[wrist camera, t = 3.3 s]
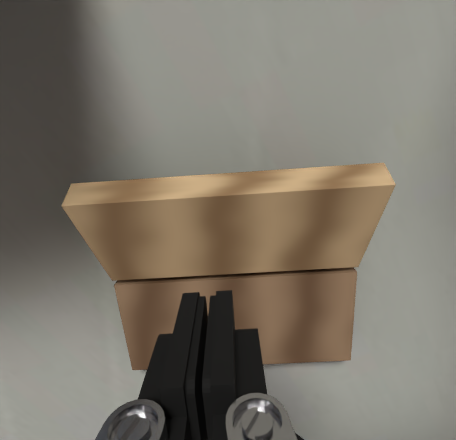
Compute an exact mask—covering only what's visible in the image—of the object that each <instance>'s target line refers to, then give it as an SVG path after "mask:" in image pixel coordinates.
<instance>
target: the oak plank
mask: <svg viewBox="0 0 456 440" xmlns="http://www.w3.org/2000/svg"><path fill="white" fill-rule="evenodd" d="M395 185H396V184H395V183H394V181H393V179H392V177H391V175H390V173H389V171H388V169H387V168H386V166H385V164H384V163H373V164H358V165H343V166H328V167H313V168H298V169H283V170H268V171H253V172H238V173H223V174H208V175H193V176H178V177H163V178H148V179H133V180H118V181H103V182H88V183H73V184H71V185H70V188H69V190H68V192H67V195H66V197H65V199H64V202H63V204H62V208H63V209H64V211H65V212H66V214H67V215H68V216H69V218H70V219H71V221H72V222H73V224H74V225H75V227H76V228H77V230H78V231H79V233H80V234H81V235H82V237H83V238H84V240H85V241H86V243H87V244H88V246H89V247H90V249H91V250H92V252H93V253H94V255H95V256H96V257H97V259H98V260H99V262H100V263H101V265H102V266H103V268H104V269H105V271H106V272H107V274H108V275H109V276H110V278H111V279H112V281H113V280H131V279H149V278H167V277H185V276H203V275H221V274H240V273H258V272H276V271H294V270H312V269H330V268H348V267H358V266H359V264H360V262H361V260H362V258H363V255H364V253H365V251H366V249H367V247H368V244H369V242H370V240H371V238H372V236H373V233H374V231H375V229H376V227H377V225H378V222H379V220H380V218H381V216H382V214H383V211H384V209H385V207H386V205H387V203H388V200H389V198H390V196H391V194H392V192H393V189H394V187H395Z"/></svg>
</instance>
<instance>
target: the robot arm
mask: <svg viewBox="0 0 456 440" xmlns="http://www.w3.org/2000/svg"><path fill="white" fill-rule="evenodd" d="M95 440H304V439H303V438H301V437H300V436H298V435H297V434H296V433H295V432H294V429H293V427H292V424H291V421H290V419H289V416H288V413H287V411H286V410H285V408H284V406H283V405H282V404H281V403H280V402H279V401H278V400H277V399H275V398H274V397H272V396H270V395H267V390H266V383H265V376H264V369H263V362H262V355H261V348H260V341H259V334H258V328H253V329H237V330H235V321H234V307H233V294H232V290H225V291H216V295H213V296H210V303H209V313H208V312H207V302H206V296H200V293H199V292H193V293H183V294H182V298H181V302H180V306H179V310H178V314H177V318H176V322H175V326H174V330H173V333H169V334H159V335H158V337H157V340H156V343H155V347H154V350H153V353H152V356H151V359H150V362H149V366H148V369H147V372H146V375H145V378H144V381H143V385H142V388H141V391H140V394H139V397H138V400H134V401H130V402H127V403H126V404H124V405H122V406H120V407H118V408H117V409H116V410H115V411H114V412H113V413H112V414H110V416H109V417H108V419H107V420H106V421H105V423H104V424H103V426H102V428H101V430H100V432H99V433H98V435H97V437H96V439H95Z"/></svg>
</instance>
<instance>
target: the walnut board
mask: <svg viewBox="0 0 456 440" xmlns="http://www.w3.org/2000/svg"><path fill="white" fill-rule="evenodd" d="M356 280H357V271H356V270H355V269H354V267H348V268H330V269H312V270H294V271H276V272H258V273H240V274H221V275H203V276H185V277H167V278H149V279H131V280H118V281H117V282H116V284H115V285H114V287H115V292H116V296H117V301H118V305H119V310H120V315H121V319H122V324H123V328H124V333H125V338H126V342H127V347H128V352H129V356H130V361H131V365H132V370H145V369H148V366H149V362H150V359H151V356H152V353H153V350H154V347H155V343H156V340H157V337H158V335H159V334H169V333H173V330H174V326H175V322H176V318H177V314H178V310H179V306H180V302H181V298H182V294H183V293H193V292H199V293H200V296H206V302H207V312H208V313H209V303H210V296H213V295H216V291H225V290H232V294H233V307H234V321H235V330H237V329H253V328H258V334H259V341H260V348H261V355H262V362H263V364H279V363H302V362H324V361H346V360H351V348H352V334H353V321H354V307H355V293H356Z"/></svg>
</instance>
